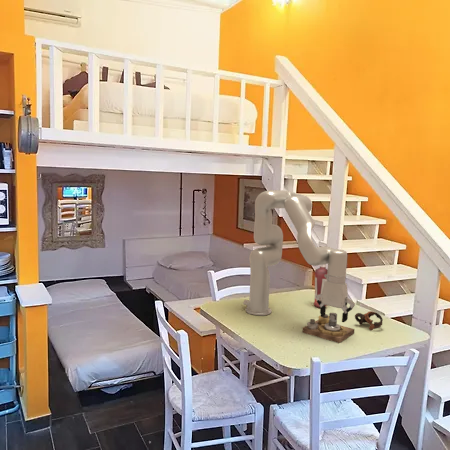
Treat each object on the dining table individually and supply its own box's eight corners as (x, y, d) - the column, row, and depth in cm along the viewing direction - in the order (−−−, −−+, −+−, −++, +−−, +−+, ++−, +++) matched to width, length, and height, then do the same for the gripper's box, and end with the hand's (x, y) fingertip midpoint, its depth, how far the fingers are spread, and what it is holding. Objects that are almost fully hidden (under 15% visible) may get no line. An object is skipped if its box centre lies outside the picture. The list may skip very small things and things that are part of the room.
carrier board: (302, 332, 187) (303, 318, 187) (318, 323, 199) (319, 311, 198) (339, 343, 177) (340, 328, 176) (354, 333, 188) (355, 320, 188)
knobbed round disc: (321, 330, 185) (322, 313, 184) (328, 327, 190) (329, 310, 189) (335, 334, 181) (337, 317, 180) (342, 330, 186) (343, 313, 185)
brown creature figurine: (377, 324, 203) (384, 313, 198) (377, 340, 195) (384, 328, 190) (351, 316, 204) (358, 304, 199) (351, 330, 196) (357, 318, 192)
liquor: (324, 309, 220) (327, 255, 217) (310, 307, 225) (314, 253, 221) (329, 306, 227) (333, 253, 223) (316, 303, 231) (319, 251, 227)
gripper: (313, 276, 185) (310, 316, 187) (352, 284, 174) (349, 326, 176) (321, 274, 191) (318, 312, 193) (359, 281, 180) (356, 321, 182)
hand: (333, 318), depth 184 cm, fingers open, 9 cm apart
